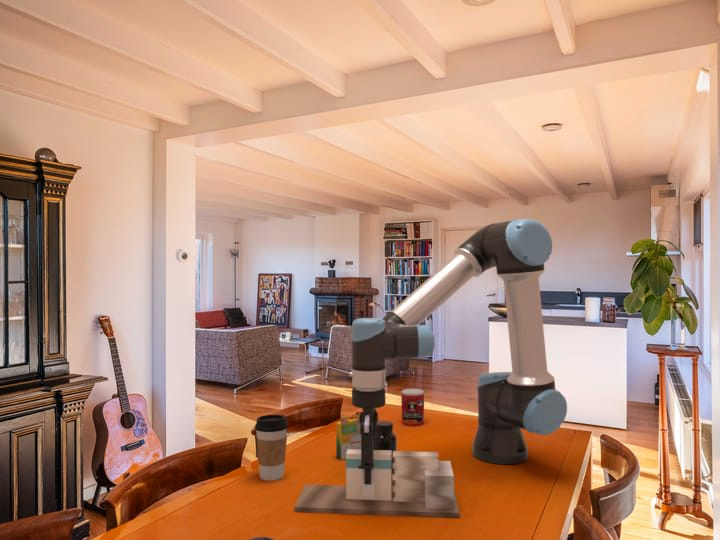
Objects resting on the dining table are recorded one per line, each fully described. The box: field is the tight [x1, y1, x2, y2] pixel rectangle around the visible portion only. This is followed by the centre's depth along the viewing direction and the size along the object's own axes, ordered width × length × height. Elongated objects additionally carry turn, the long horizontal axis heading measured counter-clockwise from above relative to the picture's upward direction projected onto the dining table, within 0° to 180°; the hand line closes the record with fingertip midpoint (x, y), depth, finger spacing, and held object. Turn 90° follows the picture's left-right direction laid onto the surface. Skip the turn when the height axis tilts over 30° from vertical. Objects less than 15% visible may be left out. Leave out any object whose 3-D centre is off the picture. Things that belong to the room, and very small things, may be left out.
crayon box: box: [335, 414, 361, 461], centre depth 145 cm, size 7×3×12 cm, turn 123°
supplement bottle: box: [376, 420, 398, 473], centre depth 135 cm, size 7×7×12 cm
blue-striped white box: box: [345, 449, 393, 501], centre depth 115 cm, size 10×3×10 cm, turn 85°
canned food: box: [400, 388, 425, 427], centre depth 177 cm, size 8×8×11 cm
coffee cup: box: [254, 414, 289, 482], centre depth 130 cm, size 8×8×15 cm
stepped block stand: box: [293, 450, 461, 519], centre depth 115 cm, size 35×12×11 cm, turn 85°
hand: (369, 491), depth 115 cm, fingers open, 5 cm apart
